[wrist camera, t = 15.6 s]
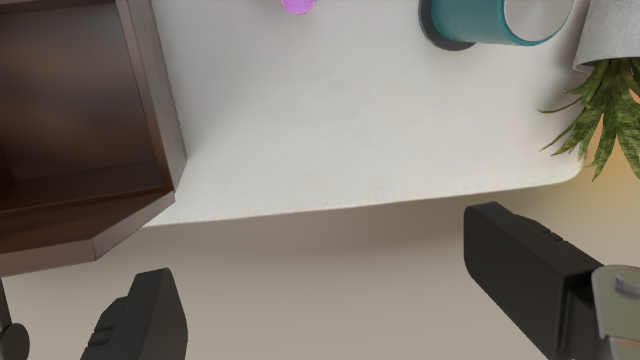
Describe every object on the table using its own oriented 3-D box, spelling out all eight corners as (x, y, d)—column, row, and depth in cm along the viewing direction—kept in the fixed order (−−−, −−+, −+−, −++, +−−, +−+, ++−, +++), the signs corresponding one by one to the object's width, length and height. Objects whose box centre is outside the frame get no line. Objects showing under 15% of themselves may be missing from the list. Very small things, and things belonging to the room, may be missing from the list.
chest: (-58, 9, 29) (-154, 4, 22) (148, -10, 31) (121, -21, 24) (13, 186, 34) (-46, 229, 27) (187, 160, 36) (175, 193, 29)
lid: (-404, 323, 12) (-348, 475, 13) (91, 238, 14) (121, 374, 15) (-52, 226, 26) (-33, 301, 27) (173, 190, 28) (186, 261, 29)
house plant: (721, 11, 38) (699, 187, 39) (550, 27, 46) (536, 175, 47) (783, -61, 26) (749, 196, 27) (537, -23, 34) (518, 178, 35)
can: (417, 7, 34) (483, 0, 25) (465, -44, 34) (551, -70, 25) (455, 54, 36) (528, 64, 27) (501, 7, 36) (592, 1, 27)
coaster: (402, 7, 35) (404, 7, 34) (464, -58, 34) (466, -59, 33) (450, 67, 37) (452, 68, 37) (509, 8, 36) (512, 8, 36)
